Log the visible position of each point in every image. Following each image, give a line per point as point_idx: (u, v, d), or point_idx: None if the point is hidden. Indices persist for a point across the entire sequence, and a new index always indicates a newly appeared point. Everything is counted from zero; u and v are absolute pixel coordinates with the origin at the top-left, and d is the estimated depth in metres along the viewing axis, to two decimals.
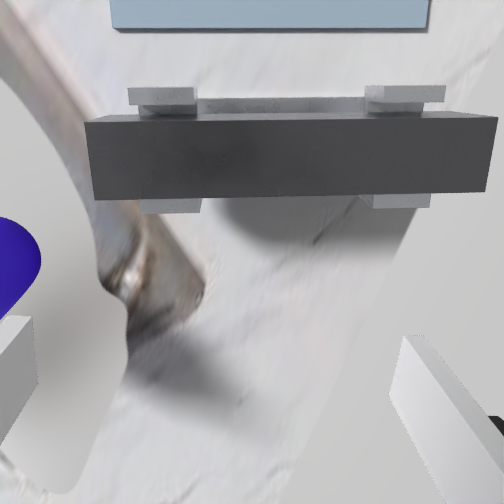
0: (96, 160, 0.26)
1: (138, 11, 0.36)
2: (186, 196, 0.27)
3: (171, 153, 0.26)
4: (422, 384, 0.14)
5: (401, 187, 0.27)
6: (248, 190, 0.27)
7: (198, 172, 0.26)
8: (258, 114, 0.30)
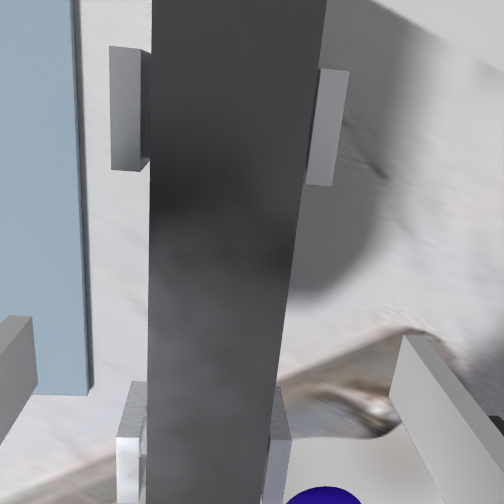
0: None
1: (69, 370, 0.32)
2: None
3: None
4: (422, 384, 0.14)
5: (288, 182, 0.13)
6: (258, 432, 0.17)
7: (221, 491, 0.17)
8: None
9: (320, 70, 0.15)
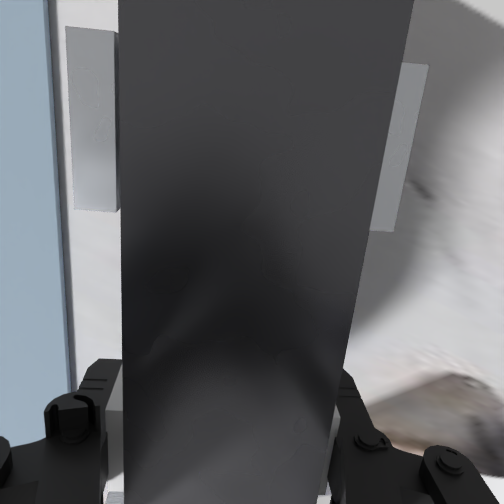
0: None
1: None
2: None
3: None
4: None
5: (345, 243, 0.08)
6: None
7: None
8: None
9: None
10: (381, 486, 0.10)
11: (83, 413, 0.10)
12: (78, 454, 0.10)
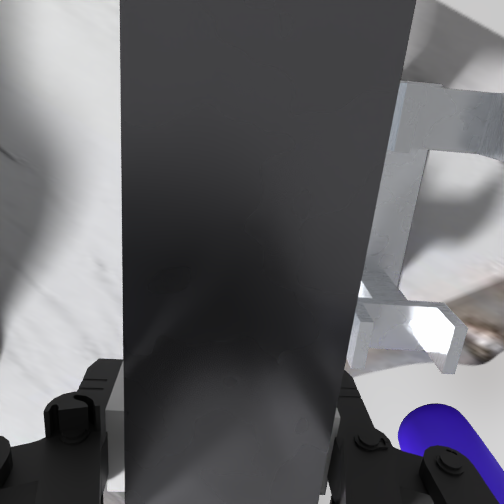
0: None
1: None
2: None
3: None
4: None
5: (346, 243, 0.08)
6: None
7: None
8: None
9: None
10: (381, 486, 0.10)
11: (83, 413, 0.10)
12: (78, 454, 0.10)
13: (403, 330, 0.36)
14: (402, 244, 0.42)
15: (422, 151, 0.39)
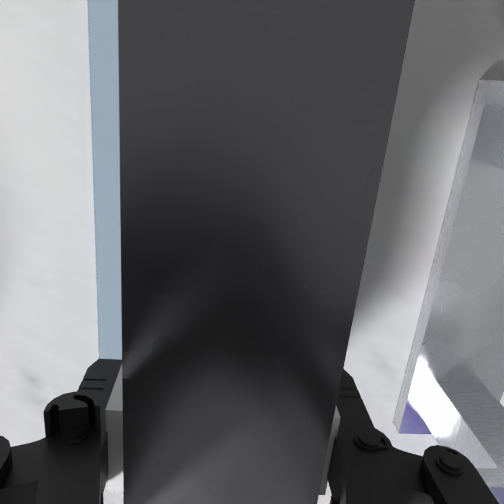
0: None
1: None
2: None
3: None
4: None
5: (345, 243, 0.08)
6: None
7: None
8: None
9: None
10: (381, 486, 0.10)
11: (83, 413, 0.10)
12: (78, 454, 0.10)
13: None
14: None
15: None
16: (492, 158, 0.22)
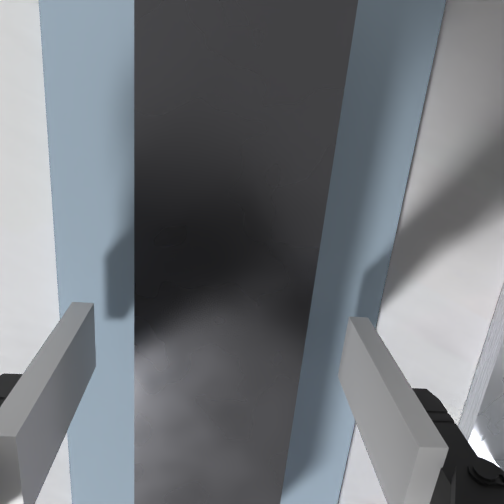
0: None
1: None
2: None
3: None
4: (361, 360, 0.15)
5: (308, 207, 0.11)
6: (267, 499, 0.14)
7: None
8: None
9: None
10: None
11: None
12: None
13: None
14: None
15: None
16: None
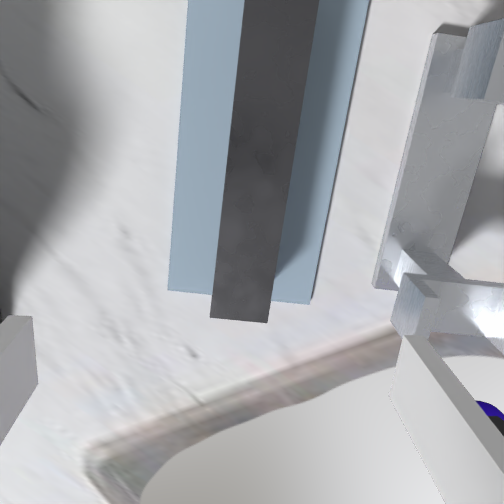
0: (237, 315, 0.34)
1: (300, 281, 0.40)
2: (276, 258, 0.33)
3: (240, 263, 0.33)
4: (422, 384, 0.14)
5: (302, 66, 0.28)
6: (279, 209, 0.32)
7: (258, 246, 0.32)
8: None
9: None
10: None
11: None
12: None
13: (464, 312, 0.32)
14: (456, 223, 0.38)
15: (486, 119, 0.35)
16: (439, 86, 0.34)
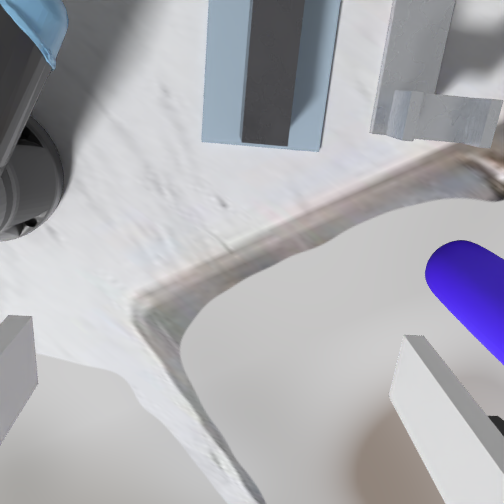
0: (264, 140, 0.43)
1: (311, 130, 0.49)
2: (293, 86, 0.41)
3: (264, 92, 0.41)
4: (422, 384, 0.14)
5: None
6: (295, 42, 0.40)
7: (279, 76, 0.41)
8: (248, 31, 0.44)
9: None
10: None
11: None
12: None
13: (443, 121, 0.41)
14: (436, 71, 0.47)
15: None
16: None
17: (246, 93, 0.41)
